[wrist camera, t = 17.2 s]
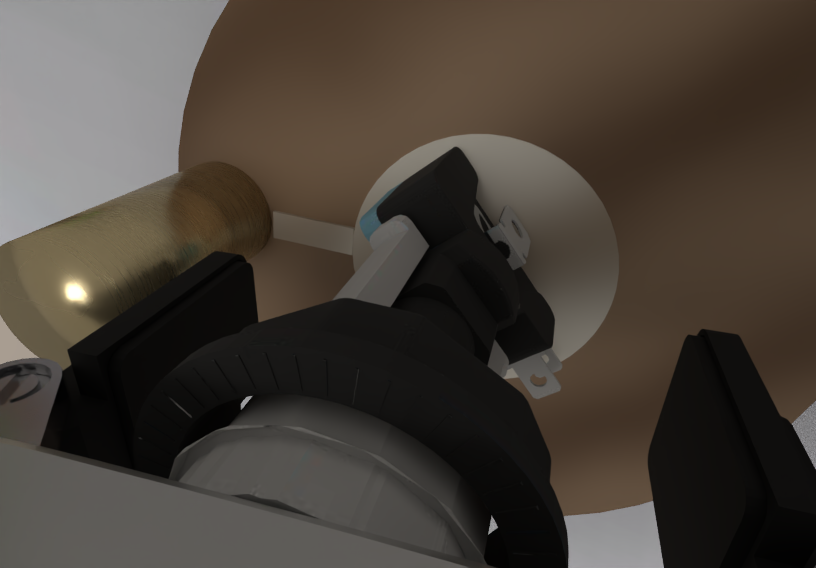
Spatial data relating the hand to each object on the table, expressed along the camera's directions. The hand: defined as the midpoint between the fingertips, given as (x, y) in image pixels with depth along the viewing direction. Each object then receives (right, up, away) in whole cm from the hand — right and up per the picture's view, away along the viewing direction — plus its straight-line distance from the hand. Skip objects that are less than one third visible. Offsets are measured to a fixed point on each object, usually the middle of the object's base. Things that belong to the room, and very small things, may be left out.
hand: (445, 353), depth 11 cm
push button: (+1, +2, +4) cm, 4 cm away
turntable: (+2, +3, +5) cm, 6 cm away
